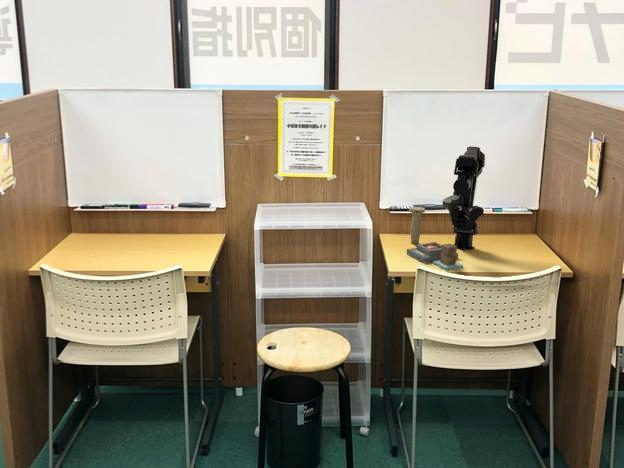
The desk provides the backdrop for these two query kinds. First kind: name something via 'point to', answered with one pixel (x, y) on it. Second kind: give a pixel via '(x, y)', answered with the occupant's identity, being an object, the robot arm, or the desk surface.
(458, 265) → the pad
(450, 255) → the brown upright block
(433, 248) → the button
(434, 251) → the grey stepped block
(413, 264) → the desk surface
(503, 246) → the desk surface
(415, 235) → the handle
